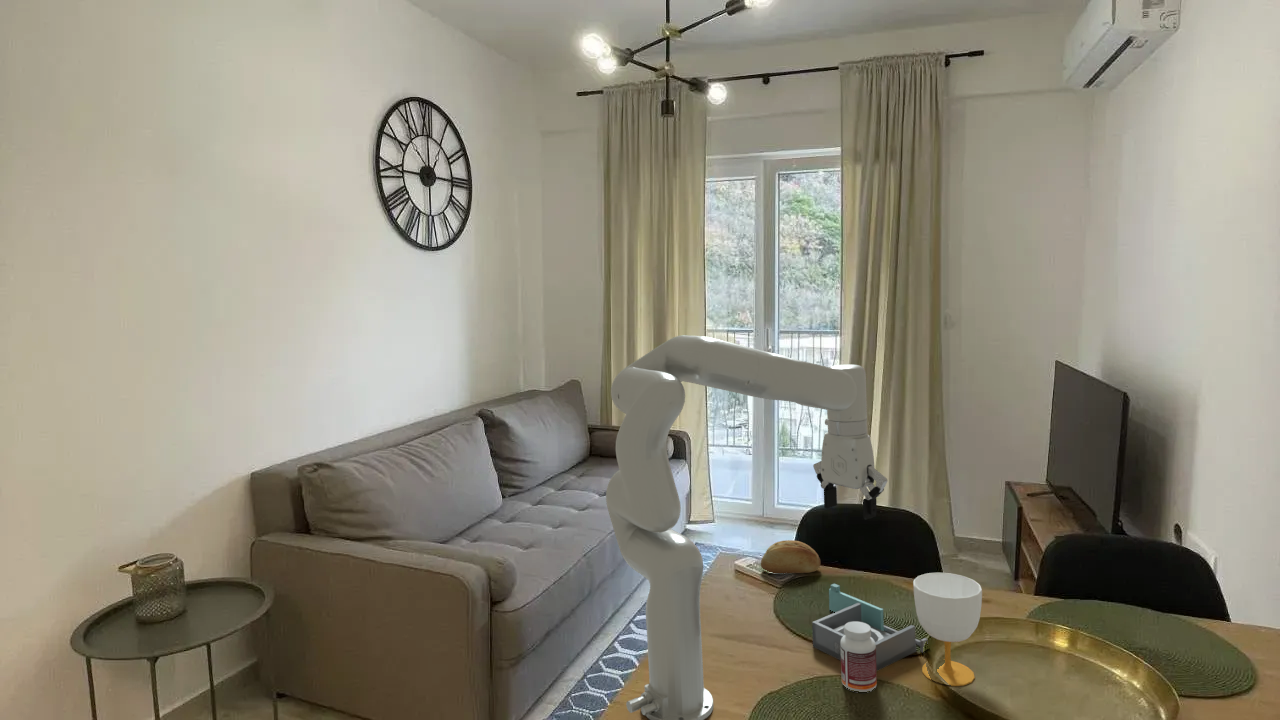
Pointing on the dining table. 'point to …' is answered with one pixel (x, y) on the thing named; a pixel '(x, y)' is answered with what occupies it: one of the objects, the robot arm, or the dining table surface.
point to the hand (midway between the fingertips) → (849, 512)
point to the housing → (887, 645)
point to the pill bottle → (858, 657)
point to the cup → (948, 617)
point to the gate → (841, 600)
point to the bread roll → (790, 558)
